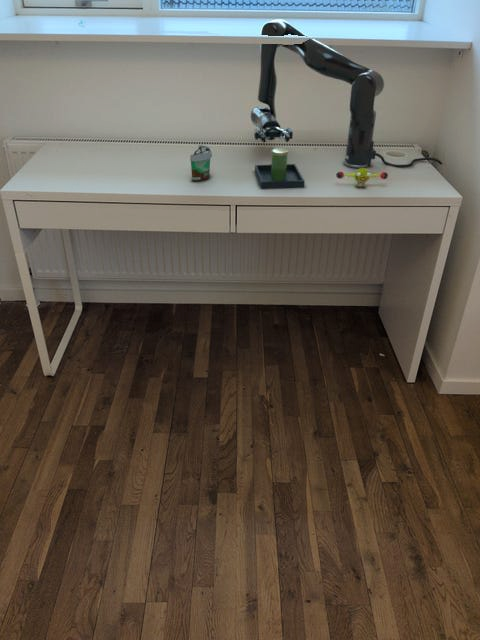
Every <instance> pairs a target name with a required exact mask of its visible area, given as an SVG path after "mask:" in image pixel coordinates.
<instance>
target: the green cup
mask: <svg viewBox="0 0 480 640" xmlns="http://www.w3.org/2000/svg"><path fill="white" fill-rule="evenodd" d="M288 154H289V150H288V149H287V148H285V147H275V148H272V149H271V159H270V160H271V161H270V163H271V164H270V165H271V179H273V180H278V181H280V180H285V179H286V171H287V164H288Z"/></svg>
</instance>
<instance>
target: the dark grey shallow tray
mask: <svg viewBox="0 0 480 640" xmlns="http://www.w3.org/2000/svg"><path fill="white" fill-rule="evenodd" d="M254 173H255V175H256V179H257V181H258V183H259V186H260V189H262V190H264V189H266V190H267V189H293V188H294V189H295V188H296V189H297V188H305V179H304V178H303V175H302V174H301V172H300V170H299V168H298V166H297V165H296V163H293V164H292V163H289V164H288V163H287V171H286V179H285V180H280V181H278V180H273V179H271V164H255V165H254Z"/></svg>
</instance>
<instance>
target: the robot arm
mask: <svg viewBox="0 0 480 640" xmlns="http://www.w3.org/2000/svg"><path fill="white" fill-rule="evenodd" d="M259 34H261V35H268V36H284V35H288V34H291V35H298V36H306V37H308V35H306V34H304V33H303V32H302V31H300V30H298V29H297V28H296V27H294V26H293V25H292V24H290V23H289V22H287V21H286V20H284V19H274V20H271V21H268V22H265V23H264V24H263V25H262V27H261V29H260V33H259ZM280 47H283V48H285V49H287V50H290V51H291V52H293V53H295V54H297V55H298V56H299V58H300V59H301V60H302V62H303V63H304V65H305V66H306V67H308V68H309V69H310V70H312V71H314V72H316V73H317V74H319V75H321V76H324V77H326V78H331V79H335V80H338V81H343V82H345V83H347V84H348V85H351V89H350V97H349V113H350V117H349V124H348V125H349V126H348V133H347V140H346V141H347V142H346V150H345V154H344V163H343V164H344V165H345V166H347V167H348V168H352V169H360V168H368V167H371V163H372V160H376V157H378V158H380V159H381V162H382V163H383V164H385V165H387V166H390V167H394V168H408V167H411V166H412V165H413V164H414V163H416V162H421V161H422V162H423V161H434V162H437V163H438V164H439V165H443V162H442V161H441V160H440V159H438V158H436V157H420V158H413V159H412V160H411V161H410V163H406V164H395V163H390V162H388V161H386V160H385V158H384V157H383V155H381V154H379V153H377V150H375V148H374V145H375V141H374V140H373V138H374V132H375V126H376V118H377V111H376V110H375V108H374V107H375V100H376V97H378V96H379V95H380V94H382V92H383V90H384V88H385V80H384V78H383V76H382V75H381V73H379V72H378V71H376V70H374V69H371V68H369V67H366V66H363V65H361V64H359V63H357V62H355V61H353V60H351V59H350V58H348V57H346V56H345V55H344V54H342V53H340V52H339V51H336V50H335V49H333V48H331V46H328V45H326V44H324V43H323V42H320V41H318V40H316V39H314V38H313V39H309V40H307V41H305V42H303V43H302V44H294V45H283V44H262V45H260V44H259V49H260V51H259V53H260V55H259V56H260V60H259V61H260V74H259V82H258V83H259V84H258V90H257V91H258V92H257V101H258V102H260V103H262V104H265V105H266V106H268V107H264V106H256V107H254V108H252V110H251V112H250V121H251V124H252V125H254V126H255V127H257V128H254V129H253V131H254V133H253V136H254V140H256V141H257V140H259V141H261V142H263V143H266V141H273V140H276V139H279V140H285V143H289V141H290V140H292V139H293V138H294V137H293V136H294V135H293V134H294V131H293V130H292V129H291V128H290V127H286V128H285V129H284V128H281V125H280V123H279V121H278V119H277V112H276V104H275V103H276V92H277V83H278V77H277V72H276V67H275V65H276V64H275V59H276V53H277V49H278V48H280ZM258 128H259V129H258Z"/></svg>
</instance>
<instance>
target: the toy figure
mask: <svg viewBox="0 0 480 640" xmlns="http://www.w3.org/2000/svg"><path fill="white" fill-rule="evenodd" d="M344 177H347V178H353V179H354V180H355V182H356V183H357V185H356V187H357V188H360V184H361V188H365V184H366V183H367V182H368V181H369V179H371V178H377V177H380V179H381V180H386V179H388V177H389V174H388V173H387V172H386V171H383V172H381V173H380V174H378V173H370V171H369V169H367V167H365V168H357V169H356V171H354V173H347V174H345V173H344V172H343V171H337V173H336V178H337V179H338V180H339V179H343V178H344Z"/></svg>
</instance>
